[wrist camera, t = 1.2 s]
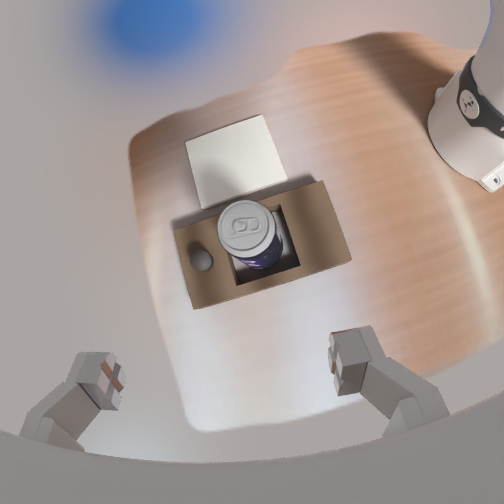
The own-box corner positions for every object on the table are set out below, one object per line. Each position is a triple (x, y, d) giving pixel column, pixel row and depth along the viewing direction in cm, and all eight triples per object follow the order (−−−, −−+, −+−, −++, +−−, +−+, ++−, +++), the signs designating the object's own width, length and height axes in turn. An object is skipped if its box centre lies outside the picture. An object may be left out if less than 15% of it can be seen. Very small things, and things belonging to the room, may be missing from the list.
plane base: (321, 187, 40) (323, 173, 36) (349, 262, 38) (354, 256, 34) (180, 234, 42) (167, 227, 38) (199, 309, 40) (187, 309, 36)
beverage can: (238, 227, 41) (213, 198, 29) (282, 224, 40) (272, 193, 28) (240, 271, 40) (213, 258, 28) (284, 268, 39) (276, 254, 27)
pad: (262, 117, 43) (262, 114, 42) (287, 181, 41) (287, 178, 40) (187, 144, 44) (185, 142, 44) (203, 209, 42) (201, 208, 41)
